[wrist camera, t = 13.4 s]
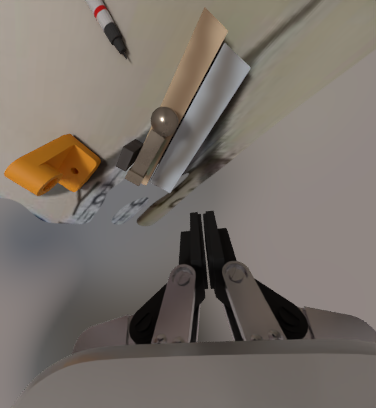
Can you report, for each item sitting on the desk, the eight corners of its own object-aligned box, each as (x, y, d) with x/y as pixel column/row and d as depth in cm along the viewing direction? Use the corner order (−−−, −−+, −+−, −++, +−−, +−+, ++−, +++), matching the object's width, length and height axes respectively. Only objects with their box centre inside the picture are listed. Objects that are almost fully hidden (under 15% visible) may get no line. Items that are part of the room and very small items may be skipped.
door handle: (162, 100, 24) (158, 100, 21) (183, 117, 25) (182, 118, 22) (128, 169, 31) (121, 176, 28) (146, 180, 32) (141, 187, 29)
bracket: (81, 188, 38) (42, 218, 28) (51, 167, 35) (-5, 192, 25) (104, 159, 34) (68, 182, 24) (72, 133, 31) (16, 146, 21)
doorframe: (124, 166, 35) (111, 179, 29) (190, 5, 22) (190, -32, 16) (169, 191, 38) (165, 206, 32) (249, 64, 25) (268, 51, 19)
